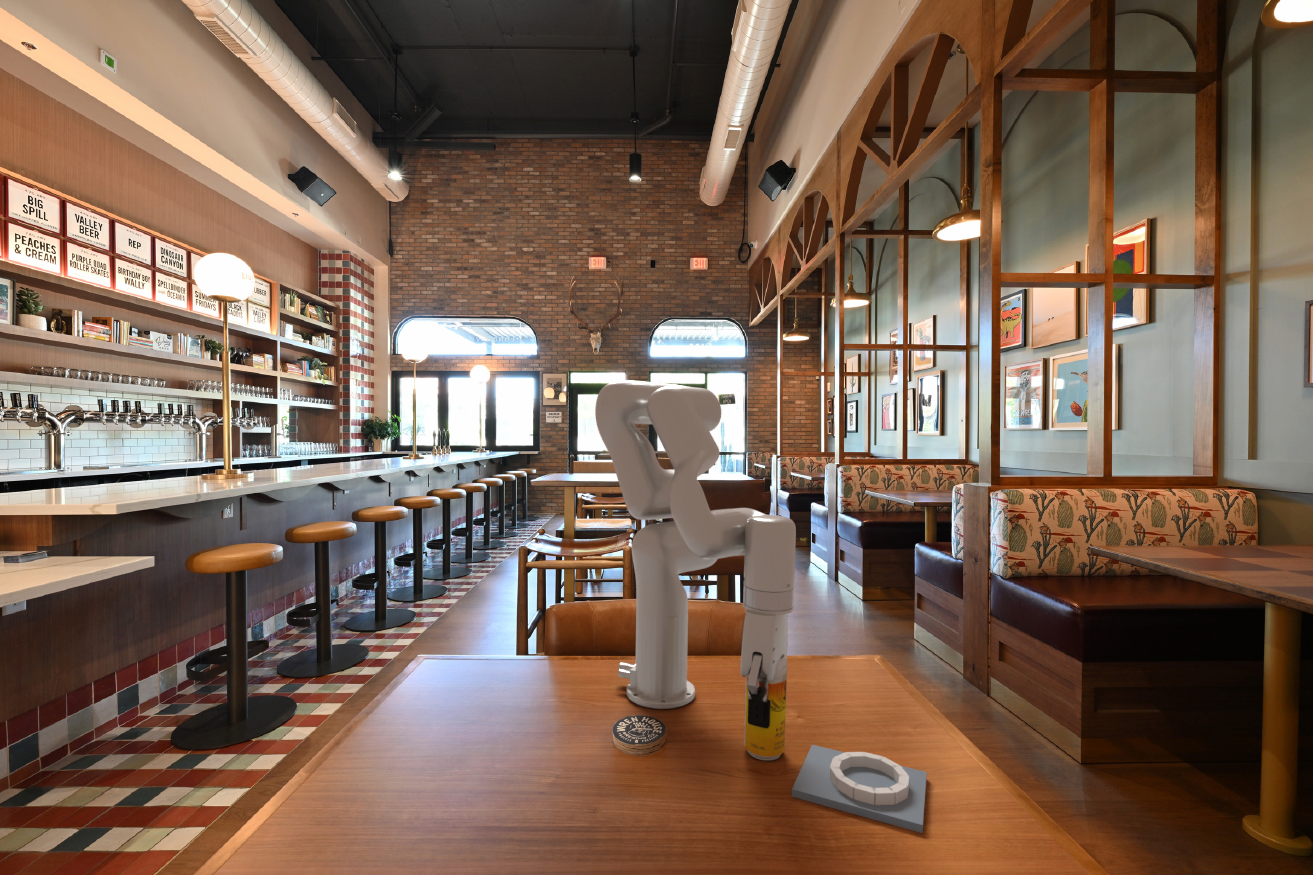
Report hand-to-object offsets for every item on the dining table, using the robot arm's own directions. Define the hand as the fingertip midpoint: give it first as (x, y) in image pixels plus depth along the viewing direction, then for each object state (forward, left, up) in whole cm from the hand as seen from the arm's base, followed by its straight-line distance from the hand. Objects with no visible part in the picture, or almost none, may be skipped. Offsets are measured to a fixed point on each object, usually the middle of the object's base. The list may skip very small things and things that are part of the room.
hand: (765, 714), depth 92 cm
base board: (+14, -3, -6) cm, 16 cm away
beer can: (0, 0, -6) cm, 6 cm away
